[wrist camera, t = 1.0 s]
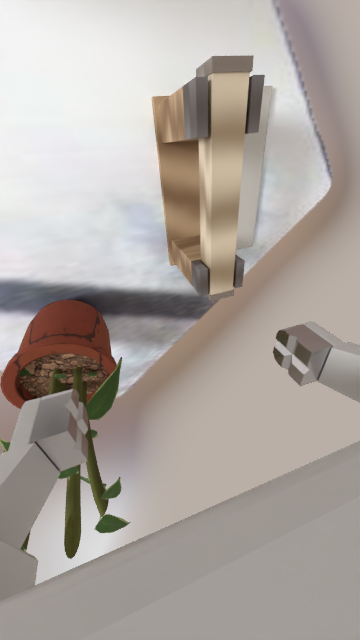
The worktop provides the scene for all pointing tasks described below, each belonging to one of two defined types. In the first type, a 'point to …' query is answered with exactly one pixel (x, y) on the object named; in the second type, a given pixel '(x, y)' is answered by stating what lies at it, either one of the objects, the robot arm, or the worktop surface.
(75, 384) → the potted plant
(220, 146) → the rail
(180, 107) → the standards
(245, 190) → the mat
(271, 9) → the worktop surface
